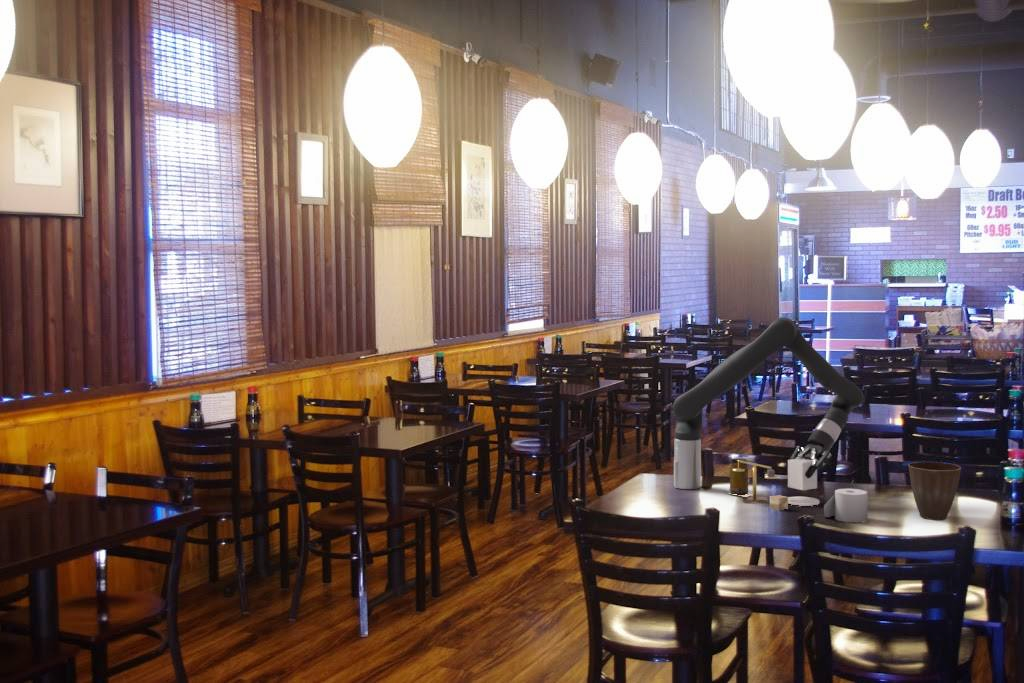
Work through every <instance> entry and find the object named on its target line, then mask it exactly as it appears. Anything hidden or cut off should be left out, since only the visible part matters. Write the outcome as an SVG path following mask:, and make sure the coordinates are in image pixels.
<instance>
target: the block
mask: <svg viewBox="0 0 1024 683" xmlns="http://www.w3.org/2000/svg"><path fill="white" fill-rule="evenodd" d="M788 497H789V496H783V495H779V494H777V495H769V509H770V508H771V509H770V510H774V509H775V510H774V511H778V510H781V511H785V510H784V509H787V510H788V509H789V505H788Z"/></svg>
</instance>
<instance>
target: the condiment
mask: <svg viewBox="0 0 1024 683" xmlns="http://www.w3.org/2000/svg"><path fill="white" fill-rule="evenodd" d="M738 460H742V461H746V462H748V460H747V459H746V458H731V461H730V462H731V464H730V465H731V466H730V468H729V493H731V494H737V495H745V494H748V493H749V468H748V464H745V463H741V462H739V468H742V469H745V471H744V472H735V471H732V469H733V468H738Z"/></svg>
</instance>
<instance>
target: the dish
mask: <svg viewBox="0 0 1024 683" xmlns="http://www.w3.org/2000/svg"><path fill="white" fill-rule="evenodd" d="M787 497H788V504H791V505H790V506H792V505H799V506H798V507H801V506H811V507H814V506H813V505H817V506H819V505H820V499H818V498H816V497H810V496H809V497H808V496H797V495H796V496H787ZM818 504H819V505H818Z"/></svg>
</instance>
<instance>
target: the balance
mask: <svg viewBox="0 0 1024 683" xmlns="http://www.w3.org/2000/svg"><path fill="white" fill-rule="evenodd" d="M739 462H741V463H745V464H747V465H750V466H751V465H752V494H753V496H750V497H740V500H741V499H742V500H741V501H743V502H759V503H758V504H768V503H769V499H768V498H767V497H766V496H757V495H756V494H757V469H758V468H757V467H760V468H764V469H767V471H766V472H767V473H766V474H765V475H764V478H765V479H769V480H770V479H771V480H773V479H774V480H775V479H778V475H776V474H775V470H774V469H772V466H768V465H764V464H759V463H755V462H749V461H747V462H746V461H742V460H738V468H733V469H732V471H735V472H744V471H745V469H742V468H739ZM743 502H742V503H743ZM760 502H761V503H760Z"/></svg>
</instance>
